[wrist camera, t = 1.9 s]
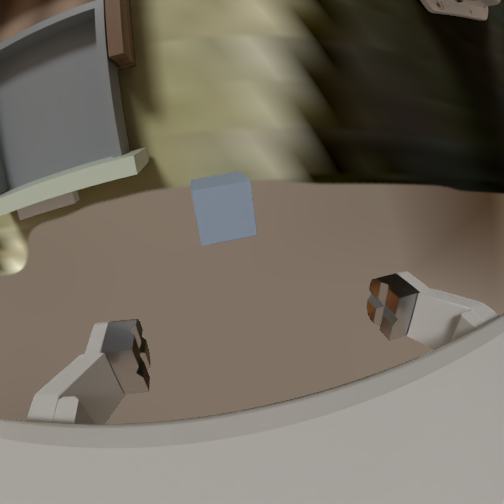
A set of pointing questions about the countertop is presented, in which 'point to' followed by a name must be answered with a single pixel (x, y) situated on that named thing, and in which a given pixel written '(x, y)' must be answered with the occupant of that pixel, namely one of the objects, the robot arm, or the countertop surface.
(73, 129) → the tray
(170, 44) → the countertop surface
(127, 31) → the box
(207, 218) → the block
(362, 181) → the countertop surface
